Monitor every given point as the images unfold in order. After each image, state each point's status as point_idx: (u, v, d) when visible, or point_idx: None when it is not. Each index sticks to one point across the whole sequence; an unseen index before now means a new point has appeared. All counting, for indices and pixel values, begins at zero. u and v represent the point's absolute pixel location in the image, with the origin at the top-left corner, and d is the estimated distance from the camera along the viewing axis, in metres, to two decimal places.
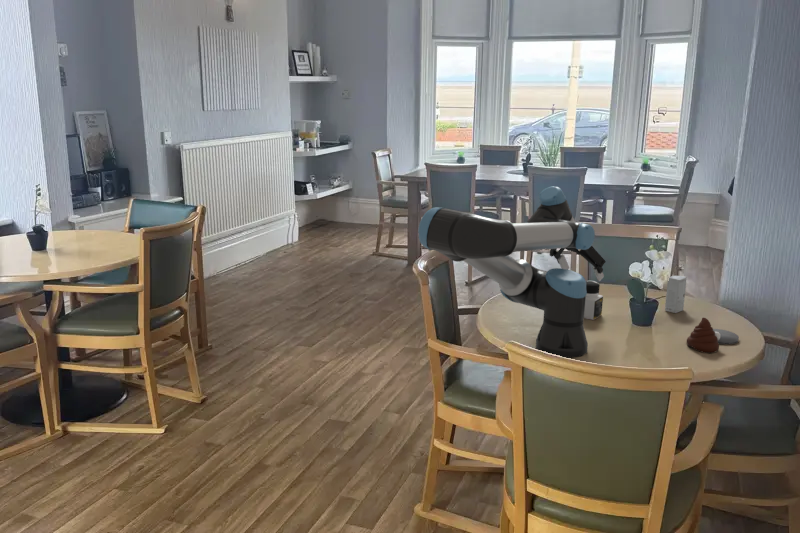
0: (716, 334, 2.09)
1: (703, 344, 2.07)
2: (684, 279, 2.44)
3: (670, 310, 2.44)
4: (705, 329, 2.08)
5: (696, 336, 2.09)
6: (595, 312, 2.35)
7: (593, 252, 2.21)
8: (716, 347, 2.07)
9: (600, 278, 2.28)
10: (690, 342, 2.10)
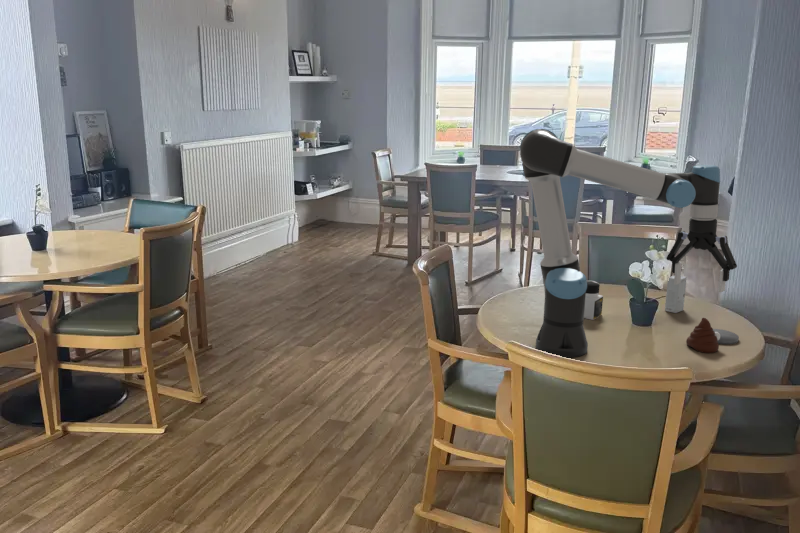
0: (716, 334, 2.09)
1: (702, 344, 2.07)
2: (684, 279, 2.44)
3: (670, 310, 2.44)
4: (705, 329, 2.08)
5: (696, 336, 2.09)
6: (595, 312, 2.35)
7: (728, 250, 2.02)
8: (716, 347, 2.07)
9: (722, 289, 2.05)
10: (690, 342, 2.10)
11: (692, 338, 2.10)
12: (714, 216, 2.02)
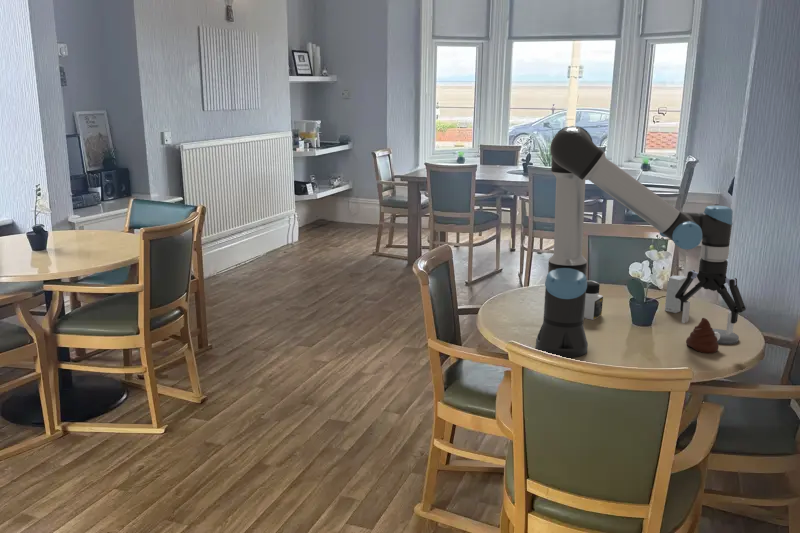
0: (716, 334, 2.09)
1: (702, 344, 2.07)
2: (684, 279, 2.44)
3: (670, 310, 2.44)
4: (705, 329, 2.08)
5: (696, 336, 2.09)
6: (595, 312, 2.35)
7: (737, 293, 2.01)
8: (716, 347, 2.07)
9: (729, 331, 2.04)
10: (690, 343, 2.10)
11: (692, 338, 2.10)
12: (725, 258, 2.01)
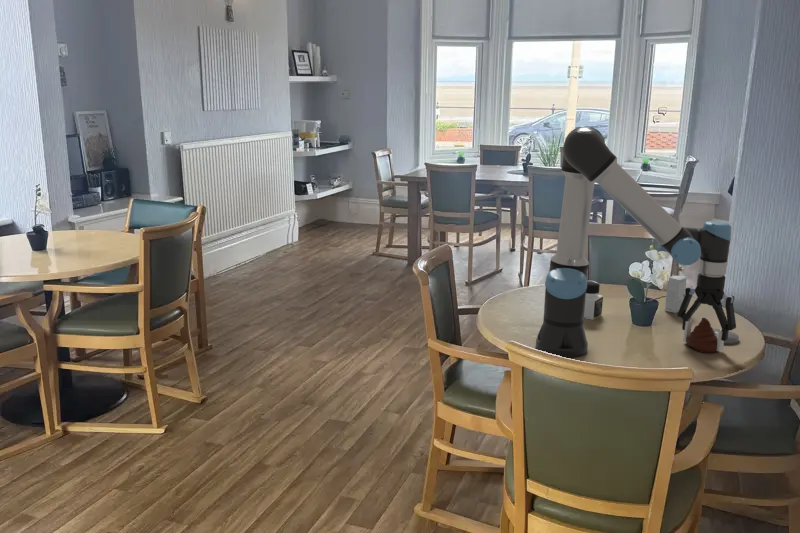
0: (716, 334, 2.08)
1: (702, 344, 2.07)
2: (684, 279, 2.44)
3: (670, 310, 2.44)
4: (705, 329, 2.07)
5: (696, 336, 2.08)
6: (595, 312, 2.35)
7: (732, 310, 2.03)
8: (716, 347, 2.06)
9: (720, 348, 2.07)
10: (690, 342, 2.10)
11: (692, 338, 2.10)
12: (723, 273, 2.02)
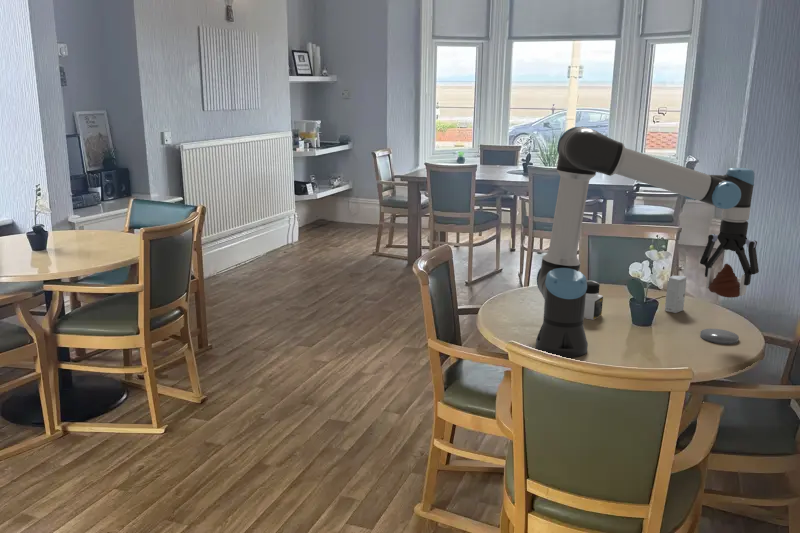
0: (738, 280, 2.13)
1: (725, 289, 2.11)
2: (684, 279, 2.44)
3: (670, 310, 2.44)
4: (728, 274, 2.12)
5: (719, 281, 2.13)
6: (595, 312, 2.35)
7: (754, 255, 2.07)
8: (738, 292, 2.11)
9: (742, 293, 2.11)
10: (713, 288, 2.14)
11: (715, 284, 2.14)
12: (746, 218, 2.06)
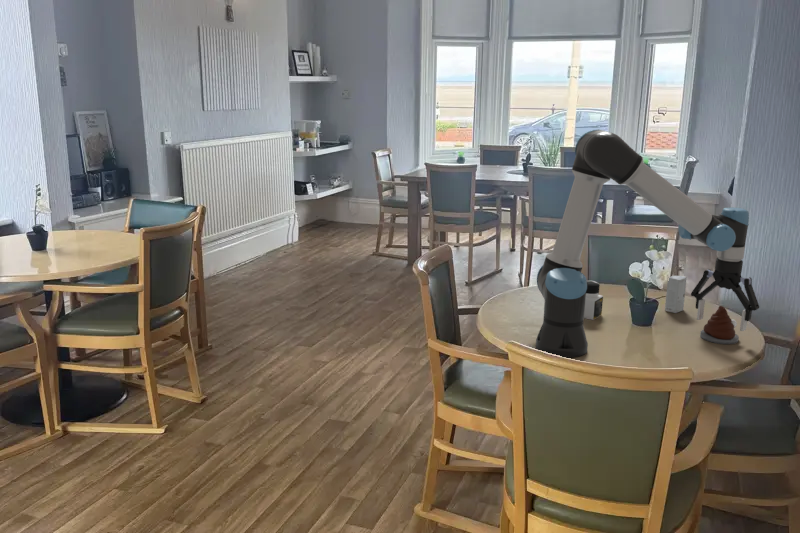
0: (732, 322, 2.16)
1: (720, 331, 2.14)
2: (684, 279, 2.44)
3: (670, 310, 2.44)
4: (722, 317, 2.15)
5: (713, 323, 2.16)
6: (595, 312, 2.35)
7: (752, 291, 2.10)
8: (733, 334, 2.14)
9: (743, 328, 2.13)
10: (707, 330, 2.17)
11: (709, 325, 2.17)
12: (740, 258, 2.10)
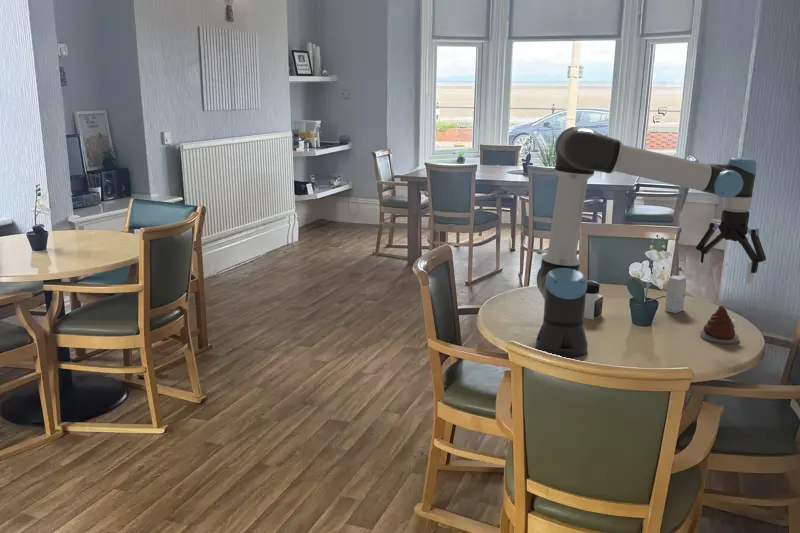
0: (732, 322, 2.16)
1: (720, 331, 2.14)
2: (684, 279, 2.44)
3: (670, 310, 2.44)
4: (722, 317, 2.15)
5: (713, 323, 2.16)
6: (595, 312, 2.35)
7: (758, 242, 2.06)
8: (733, 334, 2.14)
9: (749, 280, 2.09)
10: (707, 330, 2.17)
11: (709, 325, 2.17)
12: (747, 208, 2.06)
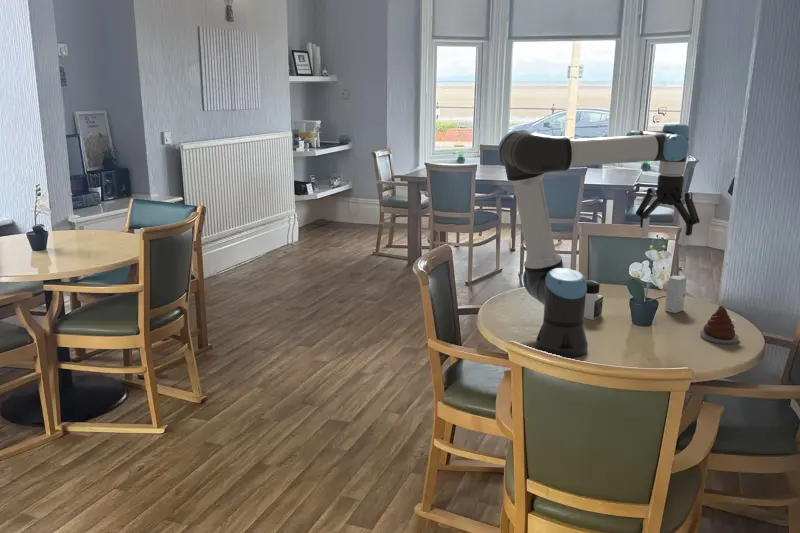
0: (732, 322, 2.16)
1: (720, 331, 2.14)
2: (684, 279, 2.44)
3: (670, 310, 2.44)
4: (722, 317, 2.15)
5: (713, 323, 2.16)
6: (595, 312, 2.35)
7: (692, 205, 2.13)
8: (733, 334, 2.14)
9: (685, 243, 2.16)
10: (707, 330, 2.17)
11: (709, 325, 2.17)
12: (681, 173, 2.13)
